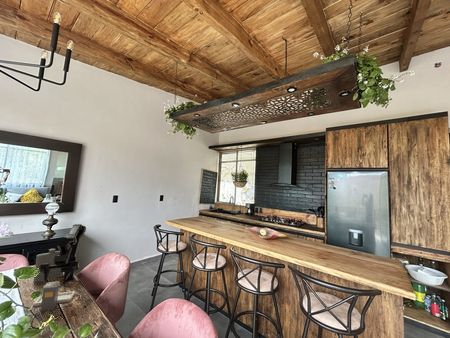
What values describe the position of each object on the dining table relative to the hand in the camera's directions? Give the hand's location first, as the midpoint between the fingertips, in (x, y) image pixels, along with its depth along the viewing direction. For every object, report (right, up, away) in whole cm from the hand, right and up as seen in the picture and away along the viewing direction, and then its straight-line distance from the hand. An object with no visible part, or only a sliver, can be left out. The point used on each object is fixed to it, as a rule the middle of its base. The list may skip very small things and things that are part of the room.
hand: (55, 281), depth 116 cm
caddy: (+1, -11, -6) cm, 13 cm away
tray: (-2, -12, +1) cm, 12 cm away
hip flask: (-26, -12, +25) cm, 39 cm away
